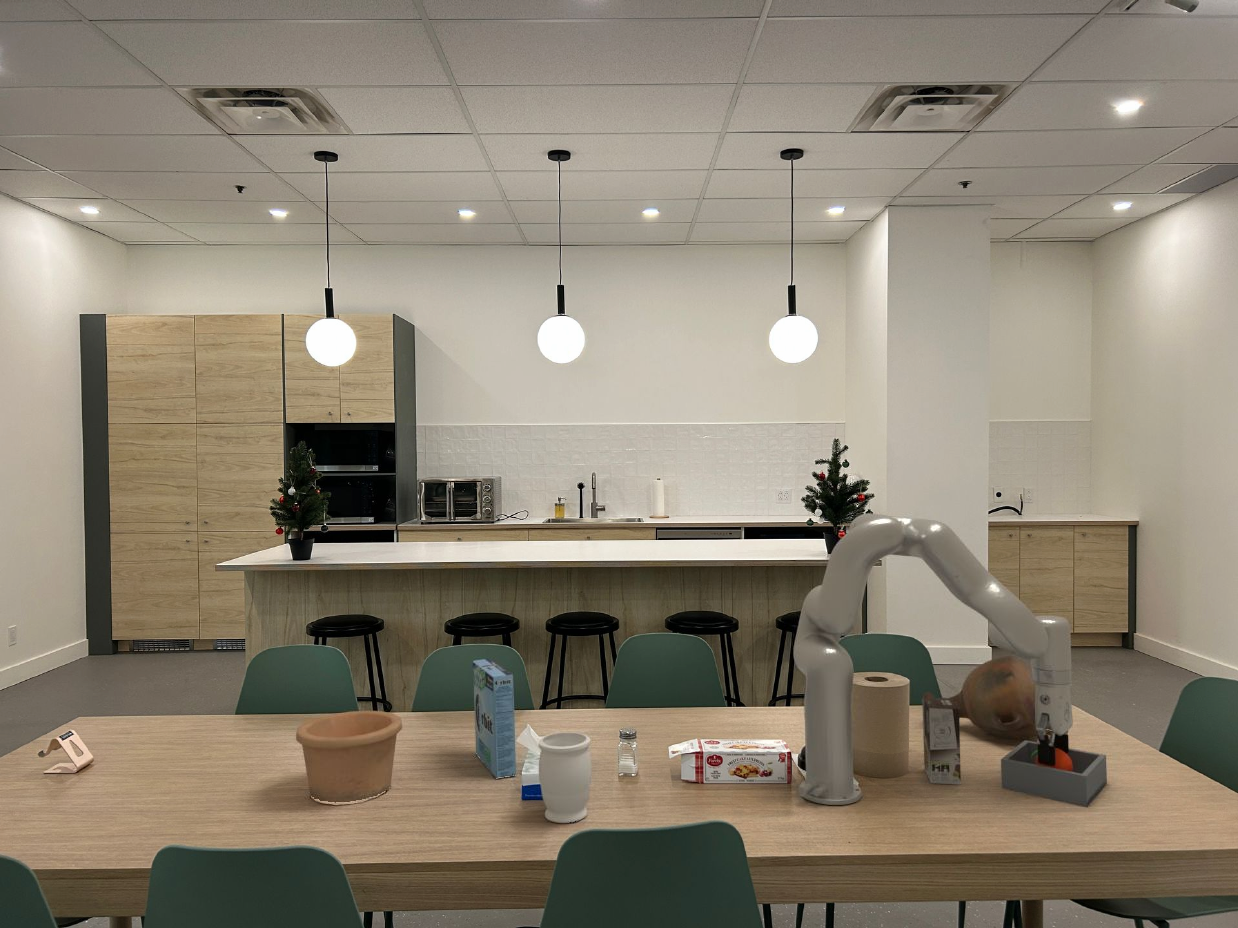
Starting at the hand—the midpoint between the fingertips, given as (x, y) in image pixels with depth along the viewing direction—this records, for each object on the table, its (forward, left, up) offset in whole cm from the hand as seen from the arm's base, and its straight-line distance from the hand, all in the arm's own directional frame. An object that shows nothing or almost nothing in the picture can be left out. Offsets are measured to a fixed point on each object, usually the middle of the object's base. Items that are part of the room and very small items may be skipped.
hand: (1053, 757), depth 177 cm
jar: (-75, +69, -6) cm, 102 cm away
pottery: (-95, +115, -6) cm, 149 cm away
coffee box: (-9, +20, -6) cm, 23 cm away
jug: (+28, +23, -6) cm, 36 cm away
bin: (0, 0, -6) cm, 6 cm away
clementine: (-1, 0, -5) cm, 5 cm away
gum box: (-65, +103, -6) cm, 122 cm away
